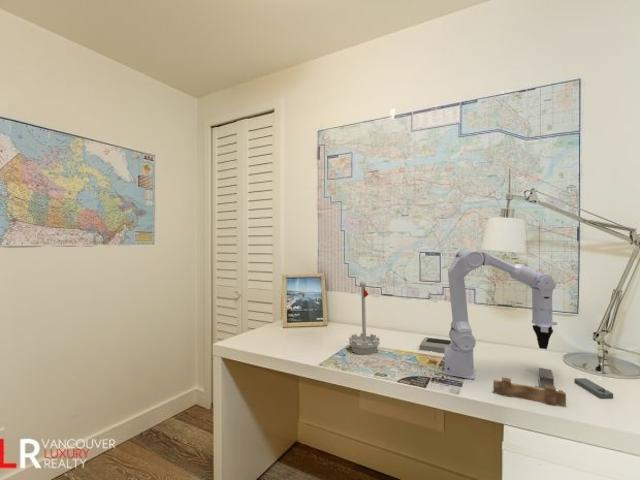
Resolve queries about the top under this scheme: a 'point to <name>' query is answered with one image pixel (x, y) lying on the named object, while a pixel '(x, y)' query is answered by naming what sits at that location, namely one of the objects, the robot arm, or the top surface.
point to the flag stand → (364, 332)
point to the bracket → (593, 388)
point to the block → (545, 377)
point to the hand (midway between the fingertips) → (542, 347)
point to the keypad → (434, 344)
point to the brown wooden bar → (530, 392)
